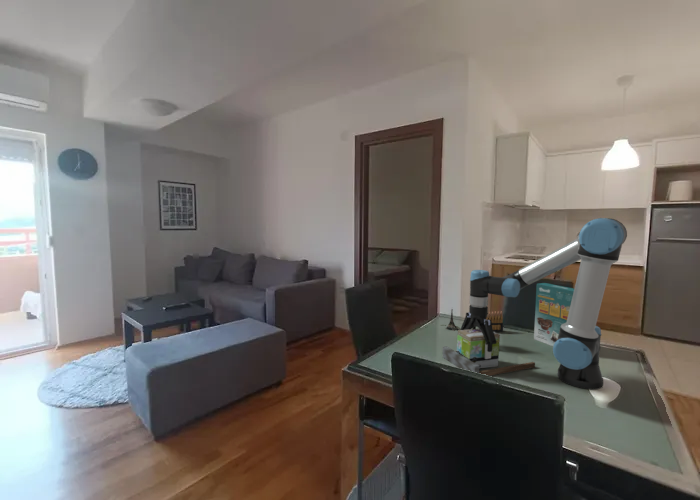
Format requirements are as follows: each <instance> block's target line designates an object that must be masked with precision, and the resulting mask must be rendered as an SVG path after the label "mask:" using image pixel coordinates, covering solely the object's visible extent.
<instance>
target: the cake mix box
mask: <svg viewBox="0 0 700 500" xmlns="http://www.w3.org/2000/svg"><path fill="white" fill-rule="evenodd" d="M535 288H536V291H535V307H534V308H535V311H534V314H535V315H534V326H533V327H534V329H533V330H534V331H533V340H535V341H538V342H540V343H544V344H545V345H548V346H551V347H553V346H554V343H555V342H556V341H557V339H558V335H559V331H560V327H561V325H562V324H564V323H566V322H567V318H568V314H569V310H570V305H571V301H572V297H573V293H574V289H575V288H573V287H567V286H562V285H559V284H558V285H556V284H552V283H546V282H542V283H540V282H539V283H536V287H535Z"/></svg>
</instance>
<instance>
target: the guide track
mask: <svg viewBox="0 0 700 500" xmlns="http://www.w3.org/2000/svg"><path fill="white" fill-rule="evenodd" d="M442 359H445V360H446V361H448V362H449V363H451V364H452V365H454V366H455V367H456V368H458V369H460V368H462V369H466V370H470V371H473V372H477V373H481V374H486V375H489V376H495V375H500V374H506V373H510V372H511V373H512V372H518V371H523V370H527V369H532V368H533V369H534V368H536V362H534V361H529V362H523V363H519V364H518V363H517V364H513V365H507V366H500V367H494V368H491V369H485V370H480V368H479V365H477V364H476V363H474V362H472V361H470V360H469V359H467V358H465V357H464V356H462V355H460V354H459V353H457V350H454V349H452V348H450V347H448V346H442ZM489 376H488V377H489Z"/></svg>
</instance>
